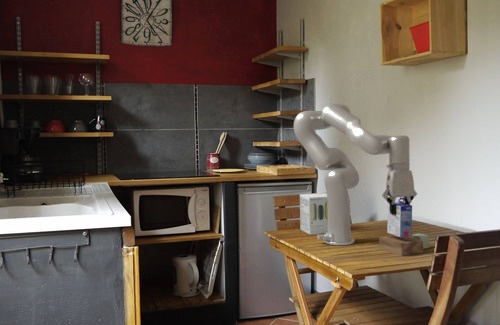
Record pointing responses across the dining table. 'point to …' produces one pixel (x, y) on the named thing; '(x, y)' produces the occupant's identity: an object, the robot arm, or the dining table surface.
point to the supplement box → (314, 213)
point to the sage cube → (422, 239)
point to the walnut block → (401, 245)
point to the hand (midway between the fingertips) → (399, 213)
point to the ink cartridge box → (400, 220)
